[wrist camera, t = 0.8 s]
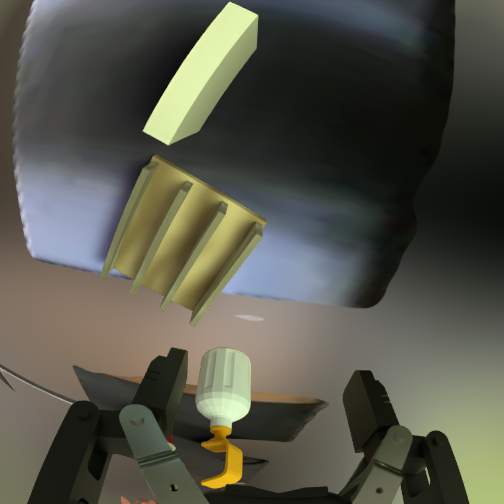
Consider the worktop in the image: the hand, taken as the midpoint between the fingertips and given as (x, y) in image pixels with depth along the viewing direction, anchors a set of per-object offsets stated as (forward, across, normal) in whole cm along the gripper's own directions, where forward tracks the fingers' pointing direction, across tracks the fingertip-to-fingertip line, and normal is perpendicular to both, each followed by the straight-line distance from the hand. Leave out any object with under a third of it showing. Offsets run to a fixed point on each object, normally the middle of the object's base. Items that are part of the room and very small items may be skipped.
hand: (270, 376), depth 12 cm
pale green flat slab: (+22, +8, -17) cm, 29 cm away
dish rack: (+25, +11, +4) cm, 28 cm away
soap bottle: (+29, +3, +27) cm, 40 cm away
